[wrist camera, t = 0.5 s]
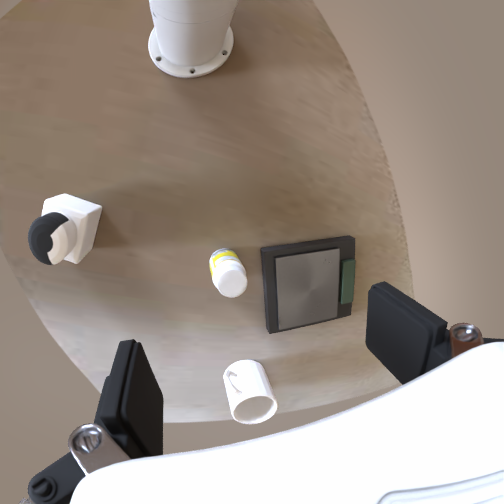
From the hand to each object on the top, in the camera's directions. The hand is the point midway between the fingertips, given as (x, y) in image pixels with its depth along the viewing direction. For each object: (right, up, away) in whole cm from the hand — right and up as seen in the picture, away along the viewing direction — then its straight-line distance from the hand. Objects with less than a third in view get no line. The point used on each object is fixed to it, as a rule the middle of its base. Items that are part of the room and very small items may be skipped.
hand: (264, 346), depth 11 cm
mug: (-3, -19, +42) cm, 46 cm away
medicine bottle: (-27, +8, +28) cm, 40 cm away
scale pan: (+9, -3, +37) cm, 38 cm away
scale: (+9, -2, +39) cm, 40 cm away
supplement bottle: (-5, +2, +35) cm, 35 cm away
